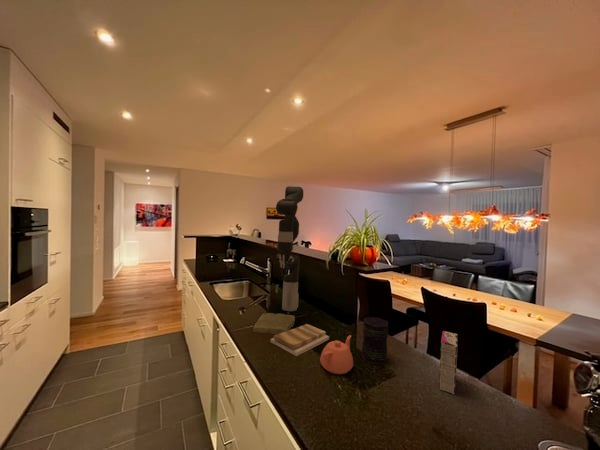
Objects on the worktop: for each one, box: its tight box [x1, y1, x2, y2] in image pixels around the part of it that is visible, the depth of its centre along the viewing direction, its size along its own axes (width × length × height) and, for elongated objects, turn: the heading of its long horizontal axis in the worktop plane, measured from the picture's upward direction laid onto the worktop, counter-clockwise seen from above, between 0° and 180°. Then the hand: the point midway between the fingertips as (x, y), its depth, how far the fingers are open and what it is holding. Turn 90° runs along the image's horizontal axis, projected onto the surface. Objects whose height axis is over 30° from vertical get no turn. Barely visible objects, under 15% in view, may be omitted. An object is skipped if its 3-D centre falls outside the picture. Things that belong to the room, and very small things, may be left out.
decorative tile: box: [252, 312, 296, 335], centre depth 132 cm, size 19×20×4 cm
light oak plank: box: [297, 323, 327, 339], centre depth 122 cm, size 7×12×2 cm, turn 47°
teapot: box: [319, 334, 354, 375], centre depth 98 cm, size 12×18×10 cm
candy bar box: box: [438, 330, 459, 395], centre depth 89 cm, size 11×5×16 cm, turn 148°
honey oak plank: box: [273, 327, 317, 349], centre depth 114 cm, size 15×12×2 cm
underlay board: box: [270, 334, 330, 357], centre depth 116 cm, size 22×16×2 cm
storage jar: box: [361, 316, 389, 365], centre depth 105 cm, size 10×10×15 cm
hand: (283, 275), depth 128 cm, fingers closed
